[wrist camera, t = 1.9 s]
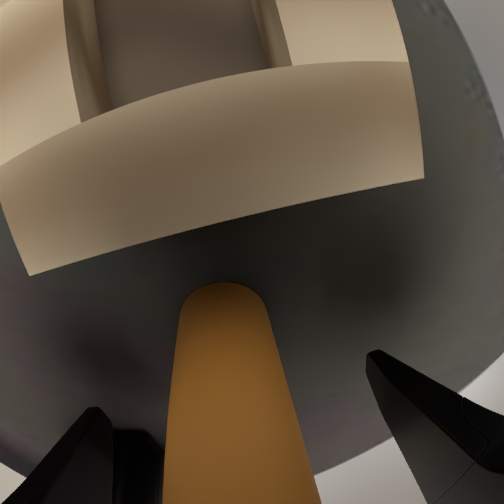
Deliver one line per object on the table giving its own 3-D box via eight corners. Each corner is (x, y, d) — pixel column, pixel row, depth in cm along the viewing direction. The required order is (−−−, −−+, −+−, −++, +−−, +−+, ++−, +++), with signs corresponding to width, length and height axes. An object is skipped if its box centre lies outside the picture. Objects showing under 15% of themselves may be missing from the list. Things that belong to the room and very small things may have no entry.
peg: (274, 342, 13) (329, 541, 5) (195, 359, 13) (197, 558, 5) (257, 272, 11) (330, 519, 3) (167, 293, 11) (129, 535, 3)
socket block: (375, 162, 10) (424, 178, 7) (67, 240, 10) (29, 276, 7) (303, -92, 5) (324, -129, 3) (21, -17, 5) (-16, -37, 2)
